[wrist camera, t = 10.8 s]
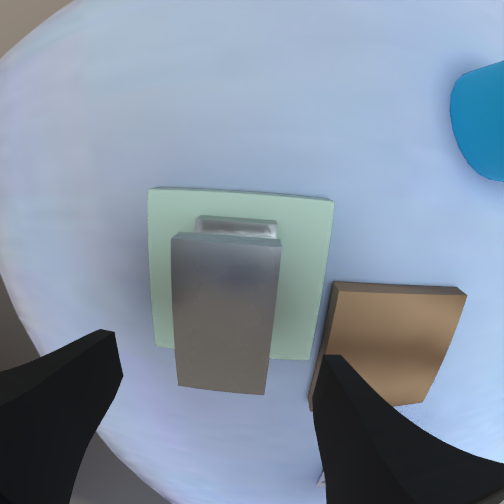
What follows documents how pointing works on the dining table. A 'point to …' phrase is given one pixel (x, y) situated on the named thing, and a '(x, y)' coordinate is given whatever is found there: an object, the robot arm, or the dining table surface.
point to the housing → (224, 302)
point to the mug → (480, 119)
